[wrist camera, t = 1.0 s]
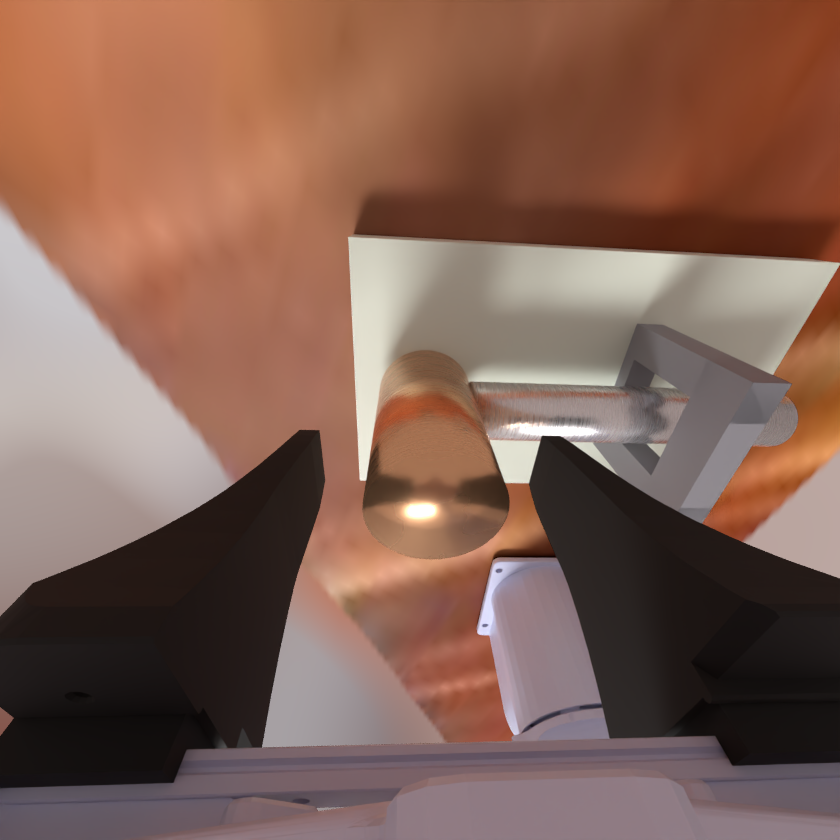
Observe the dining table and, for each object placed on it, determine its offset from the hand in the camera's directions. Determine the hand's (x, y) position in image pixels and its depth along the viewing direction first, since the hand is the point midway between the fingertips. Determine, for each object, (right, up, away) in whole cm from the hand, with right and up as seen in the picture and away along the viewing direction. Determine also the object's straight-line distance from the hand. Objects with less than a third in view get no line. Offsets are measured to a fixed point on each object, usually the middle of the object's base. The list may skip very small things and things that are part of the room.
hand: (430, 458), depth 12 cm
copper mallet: (+6, +2, +5) cm, 8 cm away
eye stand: (+7, +4, +7) cm, 10 cm away
